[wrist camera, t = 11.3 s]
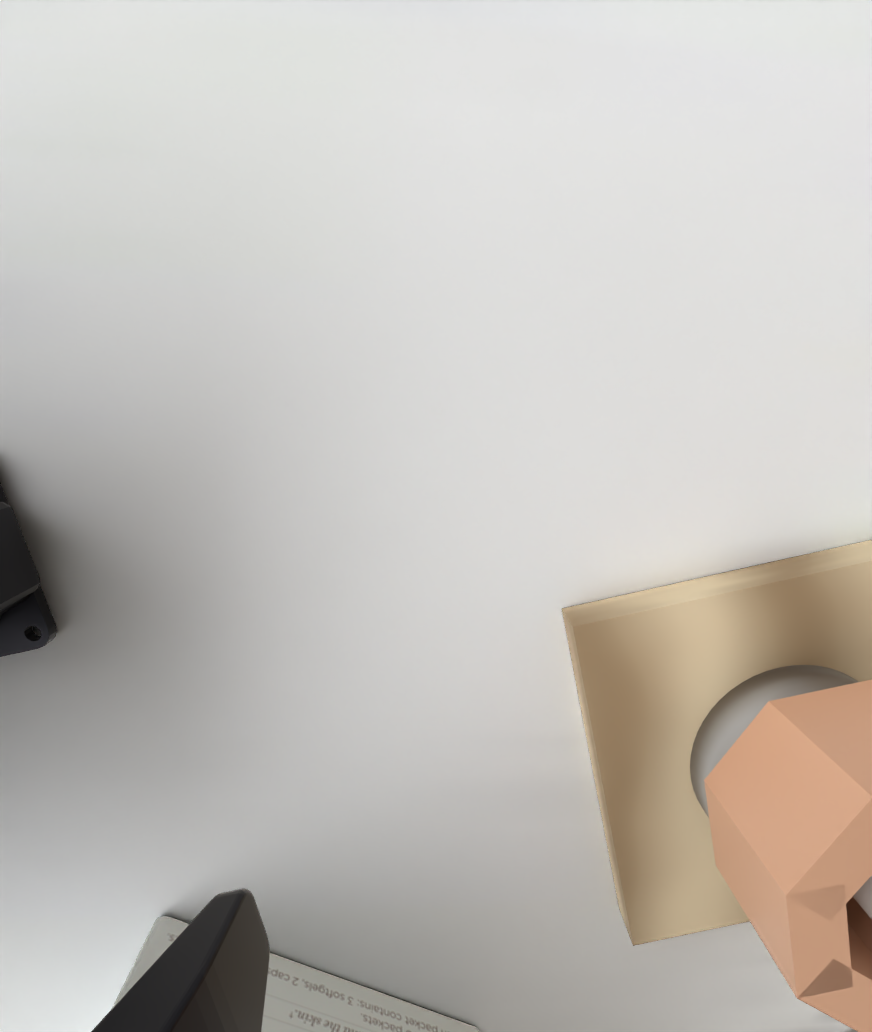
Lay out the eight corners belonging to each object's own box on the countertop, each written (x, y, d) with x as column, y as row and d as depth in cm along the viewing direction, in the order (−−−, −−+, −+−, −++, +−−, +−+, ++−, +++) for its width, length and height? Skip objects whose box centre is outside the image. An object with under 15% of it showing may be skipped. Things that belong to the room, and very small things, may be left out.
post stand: (619, 909, 23) (735, 1216, 14) (561, 608, 20) (663, 771, 12) (944, 840, 22) (1255, 1113, 14) (929, 527, 20) (1299, 634, 11)
